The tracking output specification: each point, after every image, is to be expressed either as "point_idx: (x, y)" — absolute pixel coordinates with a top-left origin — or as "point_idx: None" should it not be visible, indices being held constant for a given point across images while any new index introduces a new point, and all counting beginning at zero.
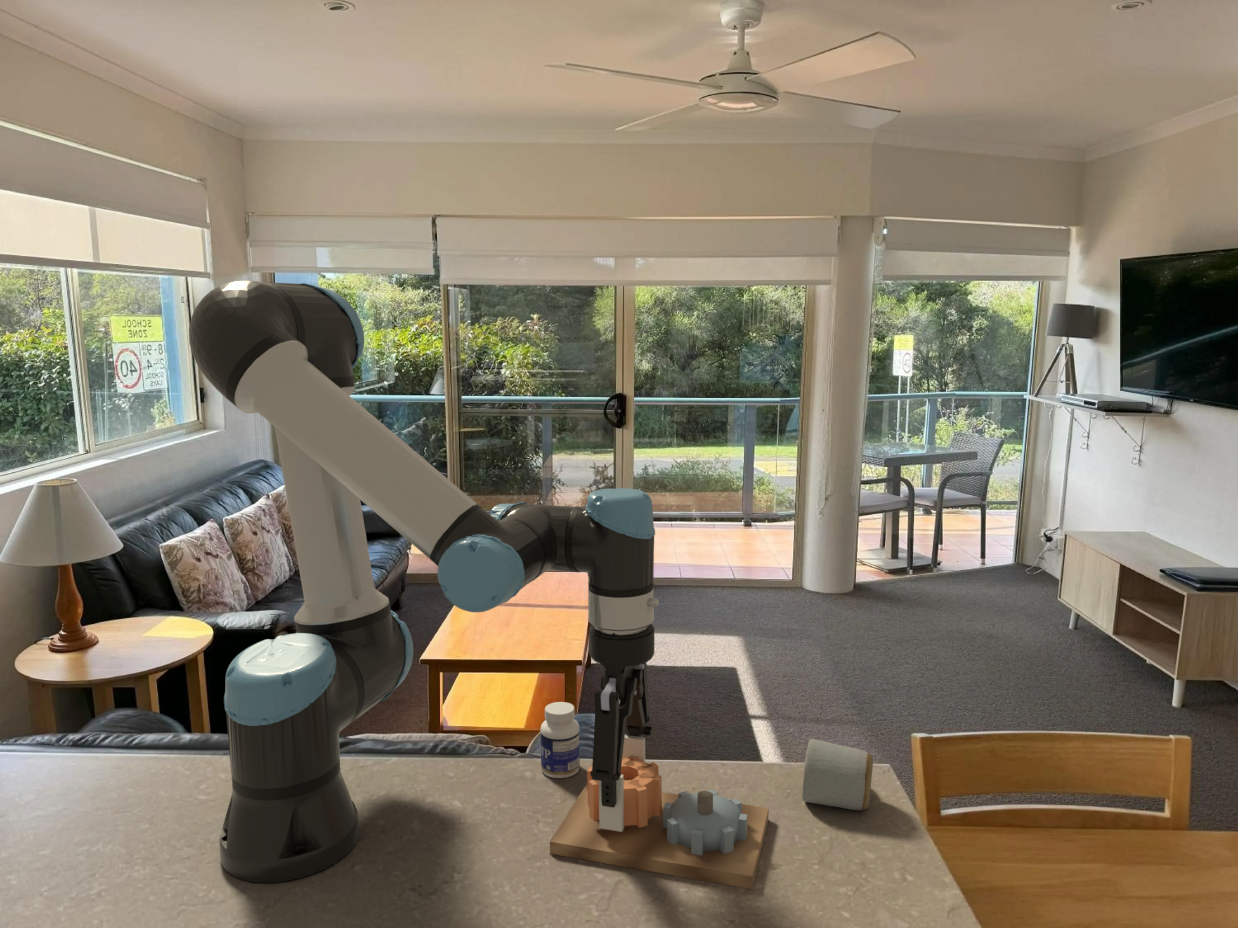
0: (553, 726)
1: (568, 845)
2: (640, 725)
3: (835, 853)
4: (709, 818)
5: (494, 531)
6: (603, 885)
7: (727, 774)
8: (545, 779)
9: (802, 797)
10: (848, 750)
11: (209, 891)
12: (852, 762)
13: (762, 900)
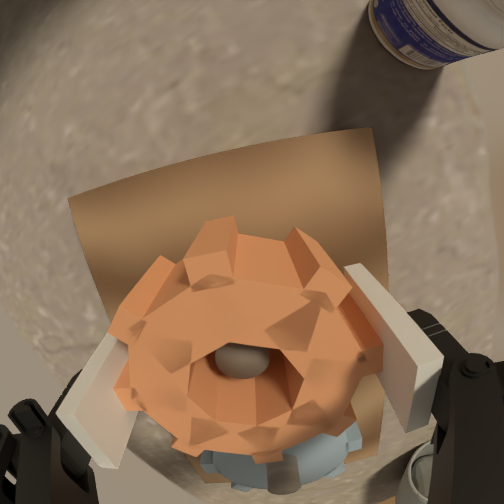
0: None
1: (82, 242)
2: (432, 471)
3: (319, 492)
4: (260, 470)
5: None
6: (77, 329)
7: (482, 349)
8: (354, 9)
9: (410, 461)
10: None
11: None
12: None
13: (194, 476)
